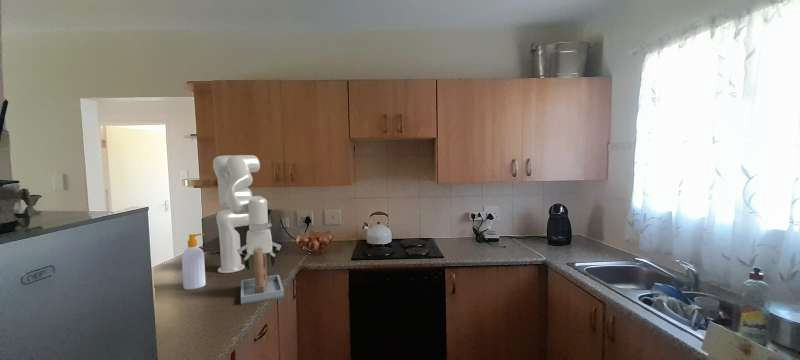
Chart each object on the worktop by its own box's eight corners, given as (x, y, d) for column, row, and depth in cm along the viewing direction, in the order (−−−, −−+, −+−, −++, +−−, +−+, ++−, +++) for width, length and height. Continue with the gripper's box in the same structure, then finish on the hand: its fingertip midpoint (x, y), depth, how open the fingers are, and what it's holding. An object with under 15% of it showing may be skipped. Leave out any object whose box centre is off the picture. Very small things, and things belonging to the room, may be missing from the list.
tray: (241, 286, 154) (241, 280, 154) (279, 281, 161) (279, 274, 161) (241, 304, 134) (240, 297, 134) (284, 297, 141) (283, 290, 141)
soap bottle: (203, 288, 153) (200, 235, 152) (180, 290, 152) (177, 237, 150) (210, 282, 162) (207, 231, 161) (188, 284, 160) (185, 233, 159)
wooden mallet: (267, 285, 154) (265, 245, 153) (264, 294, 143) (262, 251, 142) (258, 286, 153) (256, 245, 152) (254, 295, 142) (252, 251, 141)
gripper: (279, 223, 153) (280, 261, 154) (236, 227, 146) (238, 267, 147) (281, 226, 146) (282, 266, 148) (236, 230, 139) (237, 272, 141)
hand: (260, 266), depth 148 cm, fingers open, 9 cm apart
